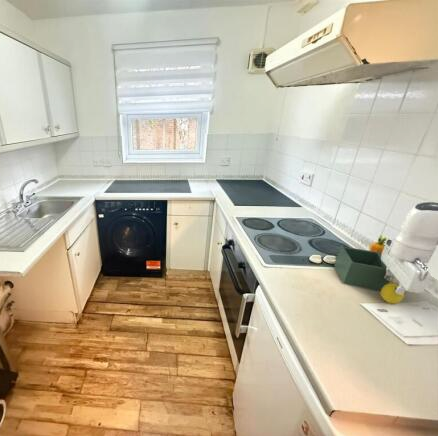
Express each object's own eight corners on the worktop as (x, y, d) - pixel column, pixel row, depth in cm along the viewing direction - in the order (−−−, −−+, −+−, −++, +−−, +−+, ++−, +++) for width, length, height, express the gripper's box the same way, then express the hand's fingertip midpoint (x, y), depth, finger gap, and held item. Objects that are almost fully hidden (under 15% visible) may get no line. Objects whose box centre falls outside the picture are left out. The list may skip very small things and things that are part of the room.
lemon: (375, 295, 87) (383, 277, 84) (395, 300, 84) (405, 282, 81) (379, 304, 82) (388, 286, 79) (401, 310, 80) (411, 291, 77)
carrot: (364, 262, 106) (376, 232, 101) (378, 267, 103) (392, 236, 97) (361, 266, 104) (374, 235, 98) (376, 271, 100) (390, 240, 94)
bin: (370, 272, 99) (378, 252, 96) (384, 292, 88) (395, 270, 84) (333, 265, 104) (340, 246, 100) (343, 283, 93) (351, 262, 89)
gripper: (445, 271, 66) (422, 309, 72) (407, 239, 83) (391, 272, 89) (414, 266, 68) (394, 303, 74) (384, 236, 86) (370, 268, 91)
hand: (392, 286), depth 81 cm, fingers open, 6 cm apart
